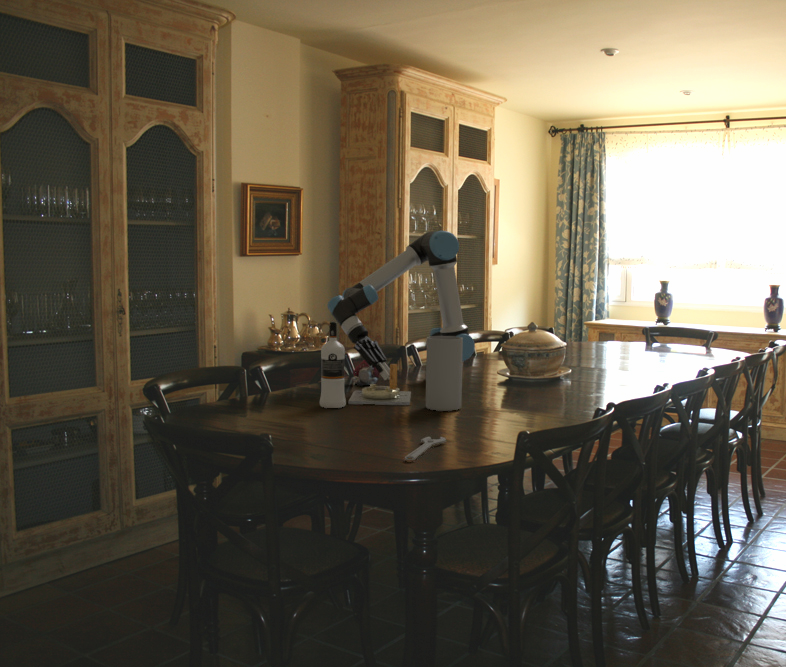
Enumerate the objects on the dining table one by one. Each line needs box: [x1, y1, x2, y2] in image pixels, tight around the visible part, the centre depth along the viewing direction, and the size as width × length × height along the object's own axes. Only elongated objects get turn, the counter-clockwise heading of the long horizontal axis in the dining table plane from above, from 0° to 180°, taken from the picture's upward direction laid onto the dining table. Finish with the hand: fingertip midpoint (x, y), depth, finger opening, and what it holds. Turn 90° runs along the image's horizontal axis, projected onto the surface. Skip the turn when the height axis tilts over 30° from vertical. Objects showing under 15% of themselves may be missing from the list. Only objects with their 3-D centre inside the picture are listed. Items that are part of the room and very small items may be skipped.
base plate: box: [347, 389, 412, 406], centre depth 274 cm, size 22×22×1 cm
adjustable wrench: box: [404, 436, 447, 461], centre depth 199 cm, size 25×6×2 cm, turn 154°
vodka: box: [319, 321, 347, 409], centre depth 257 cm, size 9×9×30 cm
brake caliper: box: [351, 359, 380, 386], centre depth 305 cm, size 11×11×12 cm
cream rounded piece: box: [361, 363, 401, 399], centre depth 273 cm, size 14×14×11 cm
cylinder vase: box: [425, 335, 463, 412], centre depth 257 cm, size 12×12×25 cm
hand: (389, 377), depth 277 cm, fingers open, 2 cm apart
